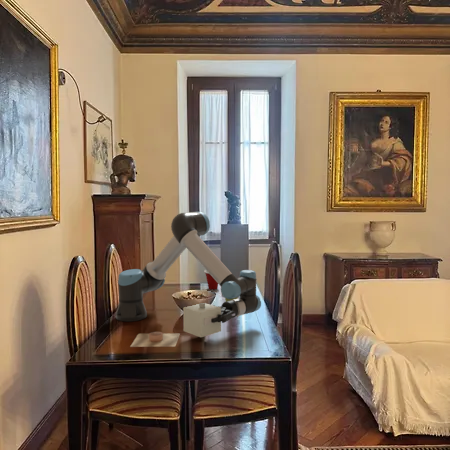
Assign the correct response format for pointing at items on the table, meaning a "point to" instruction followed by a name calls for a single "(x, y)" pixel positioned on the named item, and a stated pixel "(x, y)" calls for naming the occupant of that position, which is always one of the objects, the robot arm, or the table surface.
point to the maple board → (143, 341)
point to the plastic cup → (211, 281)
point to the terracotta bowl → (156, 336)
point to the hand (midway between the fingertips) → (194, 318)
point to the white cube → (200, 319)
